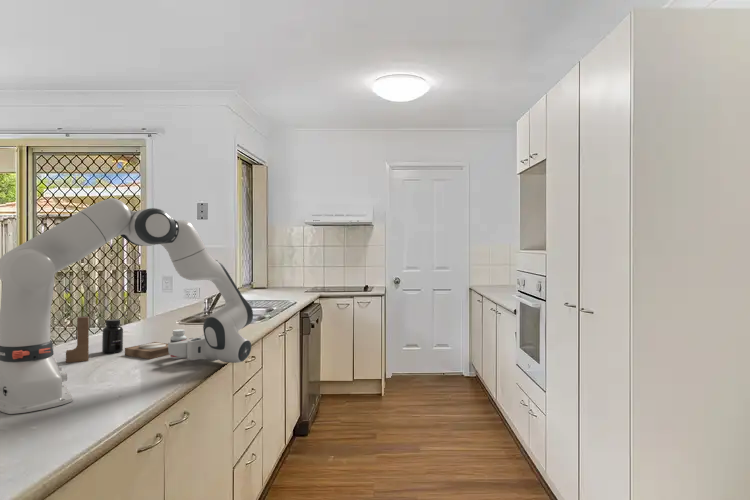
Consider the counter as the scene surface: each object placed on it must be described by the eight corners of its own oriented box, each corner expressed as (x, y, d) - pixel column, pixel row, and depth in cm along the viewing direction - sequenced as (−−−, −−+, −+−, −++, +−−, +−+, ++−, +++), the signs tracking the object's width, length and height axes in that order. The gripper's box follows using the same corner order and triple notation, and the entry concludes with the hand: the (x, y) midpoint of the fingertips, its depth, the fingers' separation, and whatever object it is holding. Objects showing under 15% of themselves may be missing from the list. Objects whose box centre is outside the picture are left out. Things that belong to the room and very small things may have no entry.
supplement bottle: (116, 354, 184) (116, 321, 184) (98, 353, 184) (98, 321, 184) (126, 350, 191) (126, 318, 191) (108, 350, 191) (108, 318, 191)
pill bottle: (184, 359, 177) (184, 331, 177) (168, 359, 177) (168, 331, 177) (188, 355, 183) (188, 328, 183) (172, 355, 182) (172, 328, 182)
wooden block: (88, 359, 176) (88, 316, 176) (88, 361, 173) (88, 317, 173) (66, 360, 173) (66, 317, 173) (65, 362, 170) (65, 318, 170)
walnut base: (179, 352, 188) (179, 344, 188) (150, 359, 177) (150, 350, 177) (154, 348, 194) (154, 340, 194) (124, 355, 182) (124, 347, 182)
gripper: (230, 332, 183) (201, 329, 189) (187, 342, 164) (156, 338, 170) (230, 350, 183) (201, 346, 189) (186, 361, 164) (156, 356, 170)
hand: (180, 342), depth 179 cm, fingers open, 8 cm apart
